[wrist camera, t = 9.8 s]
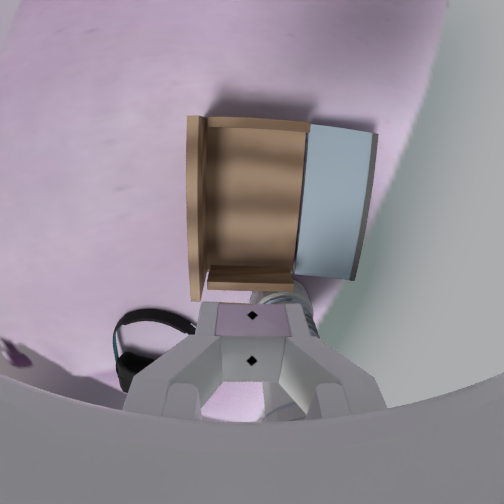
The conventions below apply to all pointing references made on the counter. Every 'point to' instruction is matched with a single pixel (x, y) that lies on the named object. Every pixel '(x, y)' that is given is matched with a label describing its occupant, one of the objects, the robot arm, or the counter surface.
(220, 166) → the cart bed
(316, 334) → the canister
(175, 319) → the virtual reality headset
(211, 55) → the counter surface
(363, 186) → the panel
